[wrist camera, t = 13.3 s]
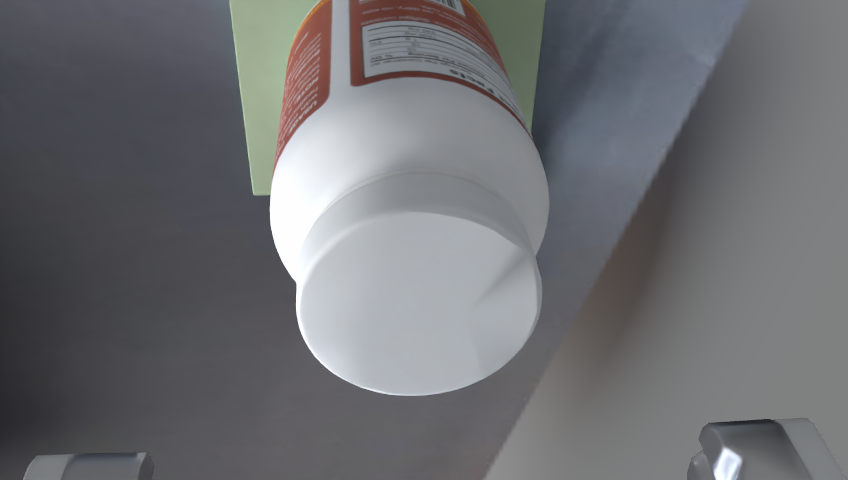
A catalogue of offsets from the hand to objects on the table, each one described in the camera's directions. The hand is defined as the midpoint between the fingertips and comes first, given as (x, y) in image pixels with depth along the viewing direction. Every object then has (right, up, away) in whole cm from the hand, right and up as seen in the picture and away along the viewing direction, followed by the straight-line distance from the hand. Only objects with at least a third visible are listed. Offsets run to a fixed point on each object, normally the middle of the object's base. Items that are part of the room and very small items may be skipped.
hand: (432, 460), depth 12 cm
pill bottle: (-1, +9, +12) cm, 15 cm away
